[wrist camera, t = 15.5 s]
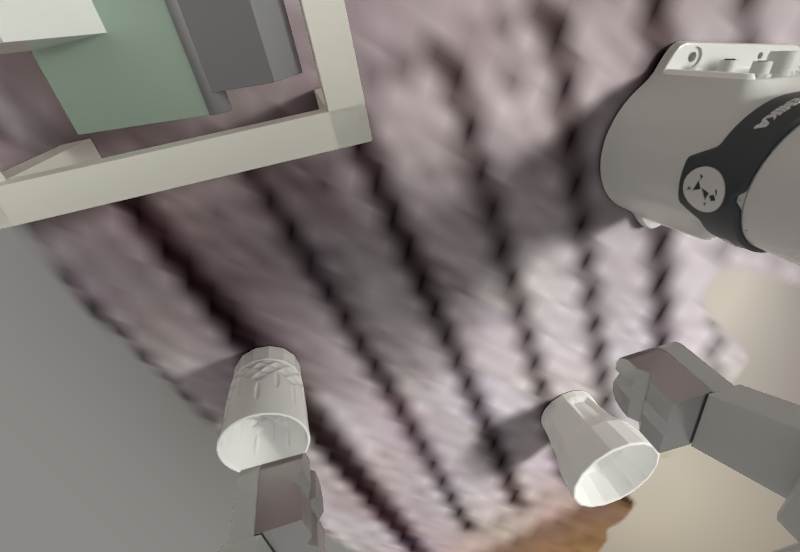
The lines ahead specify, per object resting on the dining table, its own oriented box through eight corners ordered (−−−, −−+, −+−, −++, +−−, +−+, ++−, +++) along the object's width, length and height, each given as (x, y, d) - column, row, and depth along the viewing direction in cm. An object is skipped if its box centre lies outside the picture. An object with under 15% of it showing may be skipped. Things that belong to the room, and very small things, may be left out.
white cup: (215, 357, 42) (198, 435, 34) (288, 330, 43) (289, 400, 34) (249, 406, 47) (242, 486, 38) (315, 380, 47) (322, 454, 39)
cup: (555, 449, 66) (600, 516, 57) (512, 422, 60) (555, 492, 51) (616, 400, 63) (674, 461, 54) (578, 366, 57) (636, 429, 48)
